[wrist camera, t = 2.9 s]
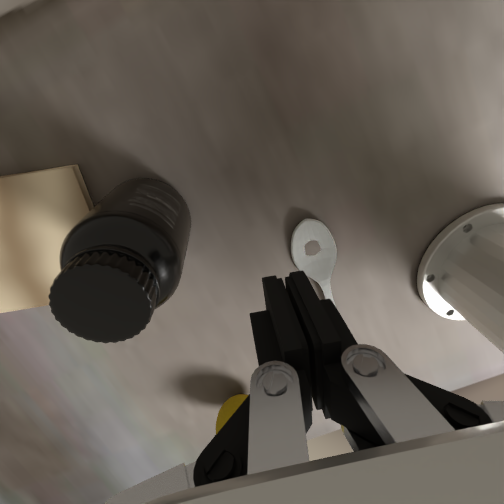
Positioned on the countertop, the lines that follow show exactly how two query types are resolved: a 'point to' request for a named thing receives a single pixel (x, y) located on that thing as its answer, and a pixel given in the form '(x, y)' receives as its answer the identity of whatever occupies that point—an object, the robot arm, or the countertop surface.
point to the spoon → (320, 263)
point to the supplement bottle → (121, 261)
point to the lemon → (229, 410)
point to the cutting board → (36, 231)
